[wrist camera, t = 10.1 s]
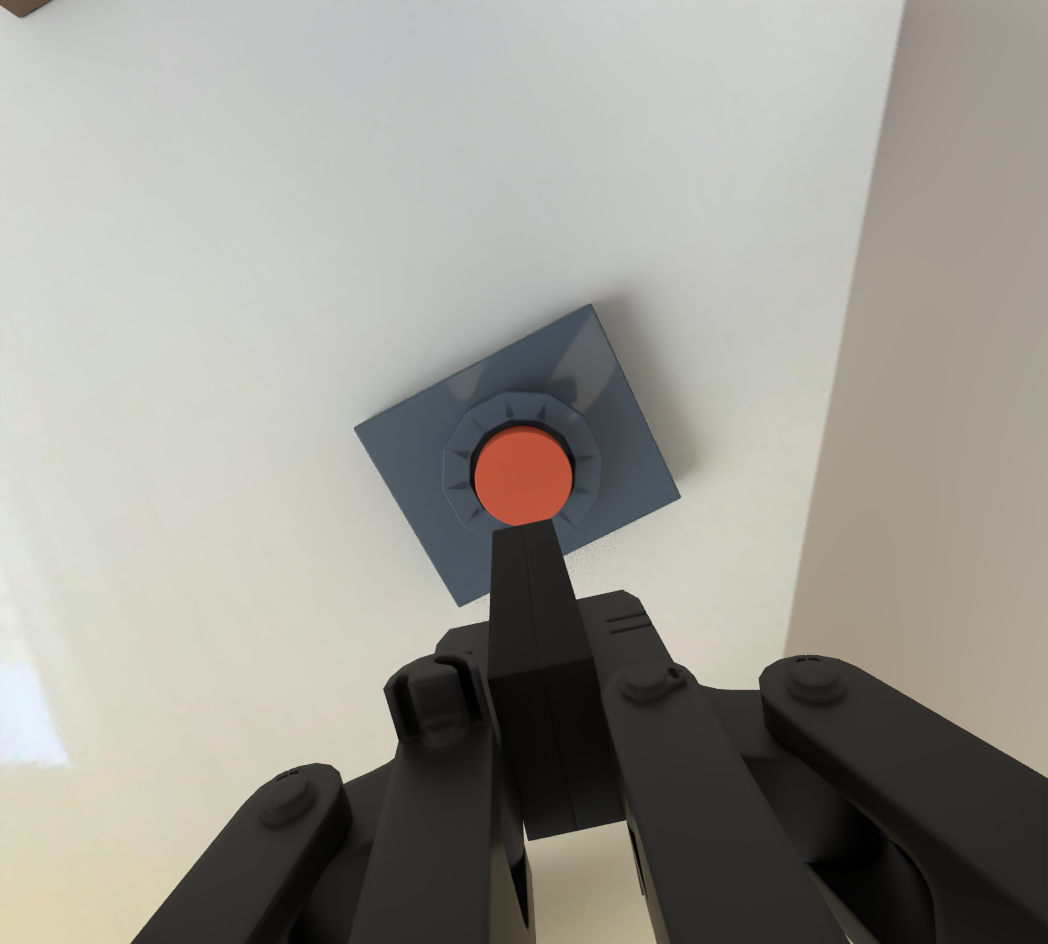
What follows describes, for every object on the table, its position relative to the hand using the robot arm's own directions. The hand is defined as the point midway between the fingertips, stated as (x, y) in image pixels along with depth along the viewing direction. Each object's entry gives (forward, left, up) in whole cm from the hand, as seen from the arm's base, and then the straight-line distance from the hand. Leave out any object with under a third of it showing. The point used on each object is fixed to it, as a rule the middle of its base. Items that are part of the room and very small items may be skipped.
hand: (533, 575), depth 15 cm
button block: (0, 0, -15) cm, 15 cm away
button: (0, 0, -11) cm, 11 cm away
